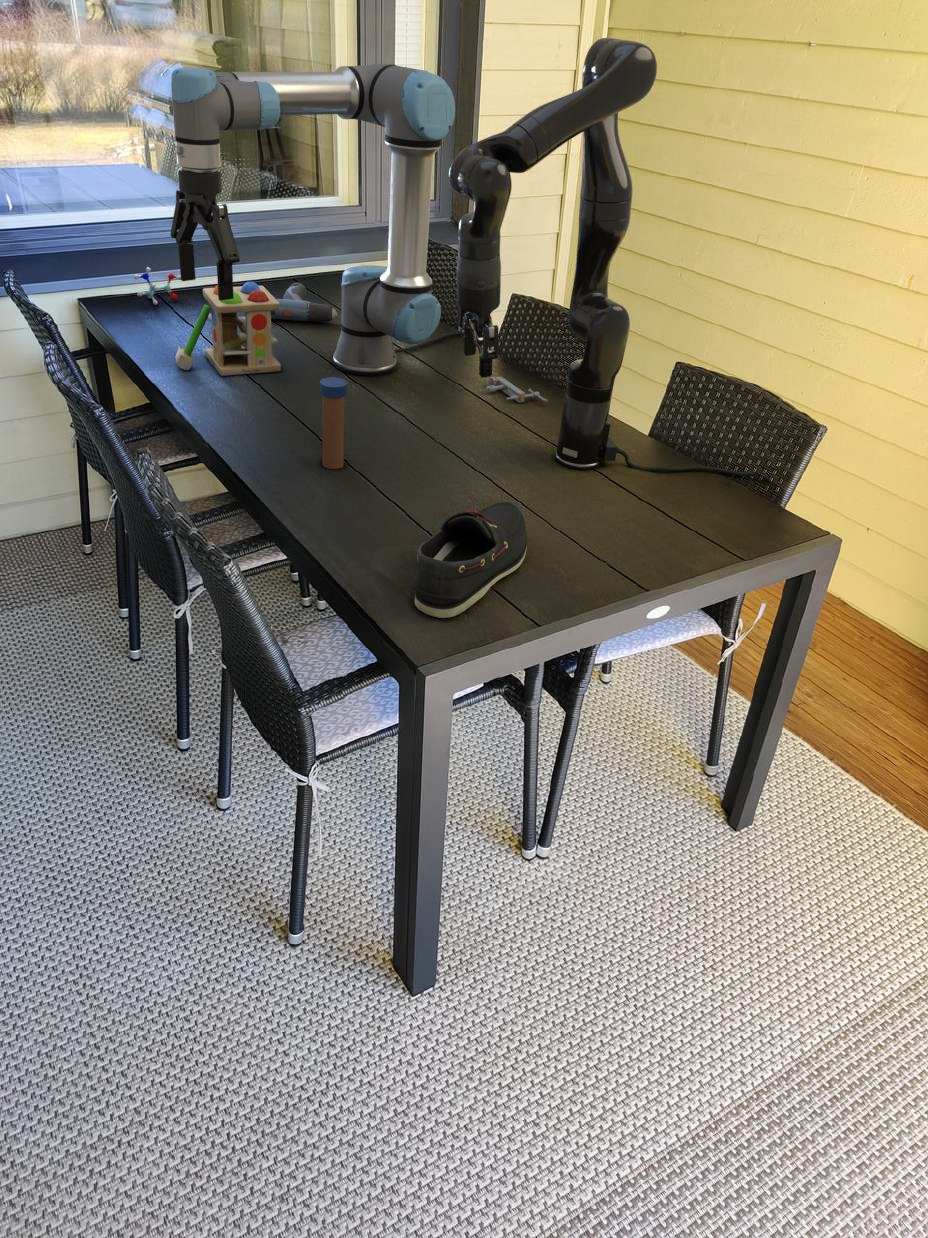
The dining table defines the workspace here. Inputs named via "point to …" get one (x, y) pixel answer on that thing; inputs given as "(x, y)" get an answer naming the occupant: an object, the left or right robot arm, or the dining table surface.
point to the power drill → (301, 307)
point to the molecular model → (154, 288)
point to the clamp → (504, 386)
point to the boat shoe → (468, 558)
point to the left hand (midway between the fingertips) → (206, 289)
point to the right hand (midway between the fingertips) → (477, 364)
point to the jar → (333, 432)
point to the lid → (333, 387)
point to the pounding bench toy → (229, 347)
